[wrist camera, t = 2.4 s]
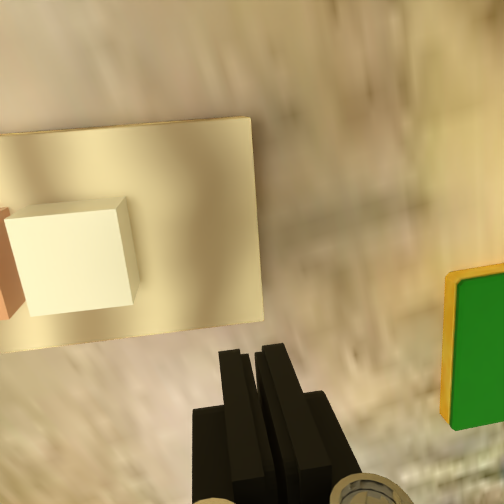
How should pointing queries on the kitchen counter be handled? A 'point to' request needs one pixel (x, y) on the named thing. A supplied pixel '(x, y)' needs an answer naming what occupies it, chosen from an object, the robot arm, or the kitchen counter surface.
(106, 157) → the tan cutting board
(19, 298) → the orange square block
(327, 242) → the kitchen counter surface
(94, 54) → the kitchen counter surface
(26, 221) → the cream square block
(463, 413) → the dish sponge
